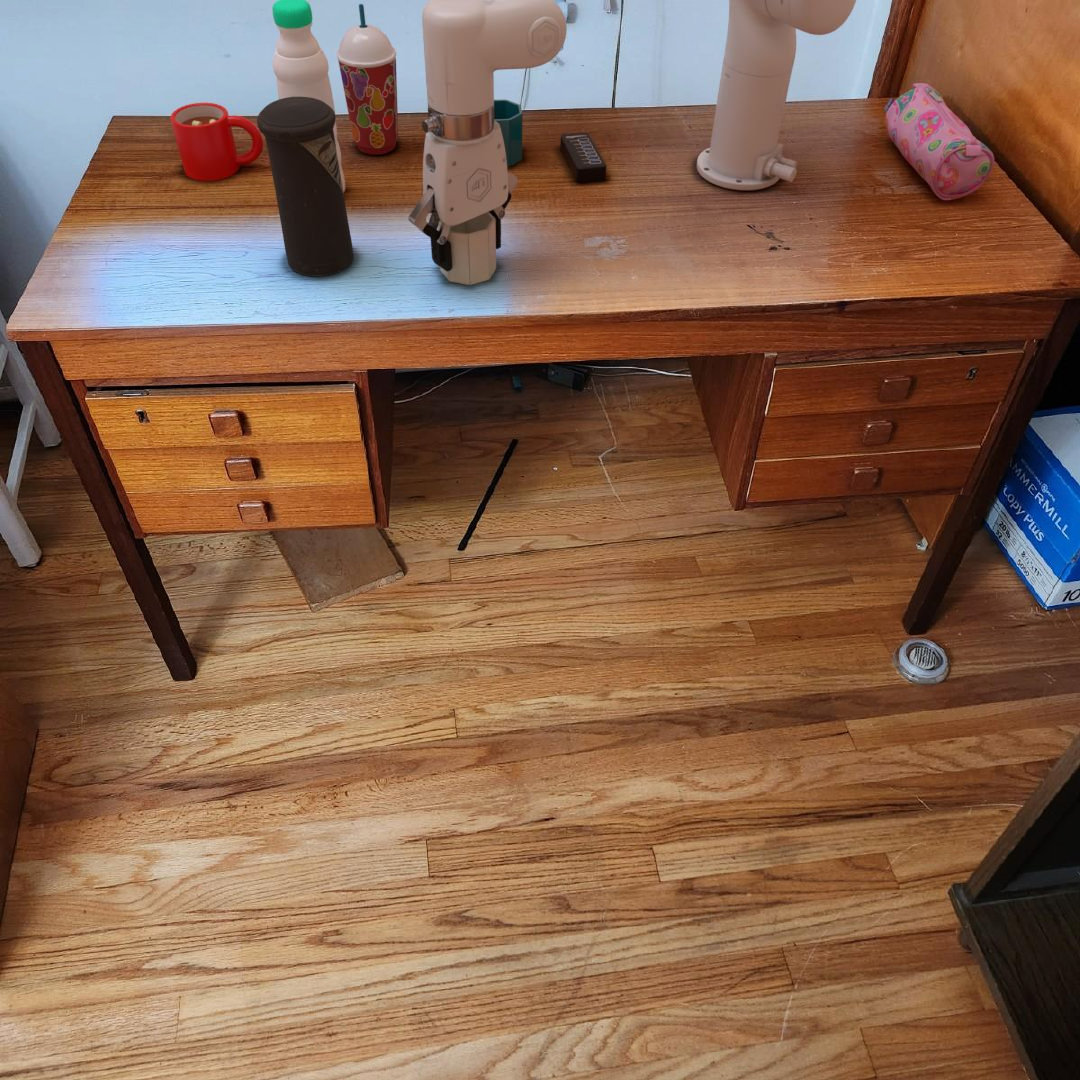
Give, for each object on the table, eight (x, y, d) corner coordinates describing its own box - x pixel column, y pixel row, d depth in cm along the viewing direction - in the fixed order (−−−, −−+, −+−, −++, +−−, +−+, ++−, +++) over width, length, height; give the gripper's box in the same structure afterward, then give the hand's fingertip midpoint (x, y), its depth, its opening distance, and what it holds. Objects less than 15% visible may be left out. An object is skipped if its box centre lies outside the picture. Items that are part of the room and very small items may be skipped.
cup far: (496, 141, 148) (495, 95, 143) (530, 155, 145) (531, 108, 140) (455, 163, 143) (453, 116, 138) (490, 178, 140) (489, 131, 135)
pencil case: (874, 136, 152) (890, 78, 145) (930, 135, 152) (949, 77, 146) (921, 205, 137) (942, 144, 131) (983, 204, 138) (1007, 143, 131)
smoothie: (408, 135, 149) (397, -5, 134) (398, 161, 143) (384, 18, 128) (356, 132, 149) (338, -8, 134) (343, 157, 144) (323, 14, 129)
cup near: (503, 275, 124) (503, 226, 118) (456, 289, 121) (453, 239, 116) (471, 240, 129) (469, 192, 124) (425, 253, 127) (421, 204, 121)
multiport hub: (576, 183, 140) (577, 168, 138) (559, 148, 147) (560, 134, 145) (606, 181, 141) (607, 165, 139) (587, 146, 148) (588, 131, 146)
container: (360, 273, 123) (339, 118, 108) (289, 283, 121) (258, 127, 106) (349, 238, 129) (328, 86, 114) (281, 247, 127) (251, 94, 112)
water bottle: (301, 179, 139) (268, -9, 120) (349, 181, 139) (324, -7, 120) (291, 204, 134) (255, 12, 116) (341, 206, 134) (313, 14, 116)
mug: (266, 178, 139) (255, 124, 133) (181, 182, 138) (166, 128, 132) (269, 152, 144) (259, 100, 138) (187, 156, 143) (173, 103, 137)
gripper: (420, 152, 104) (431, 293, 117) (540, 107, 112) (537, 243, 125) (380, 128, 108) (394, 267, 121) (498, 86, 115) (500, 220, 129)
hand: (467, 254), depth 123 cm, fingers closed on cup near, 7 cm apart
